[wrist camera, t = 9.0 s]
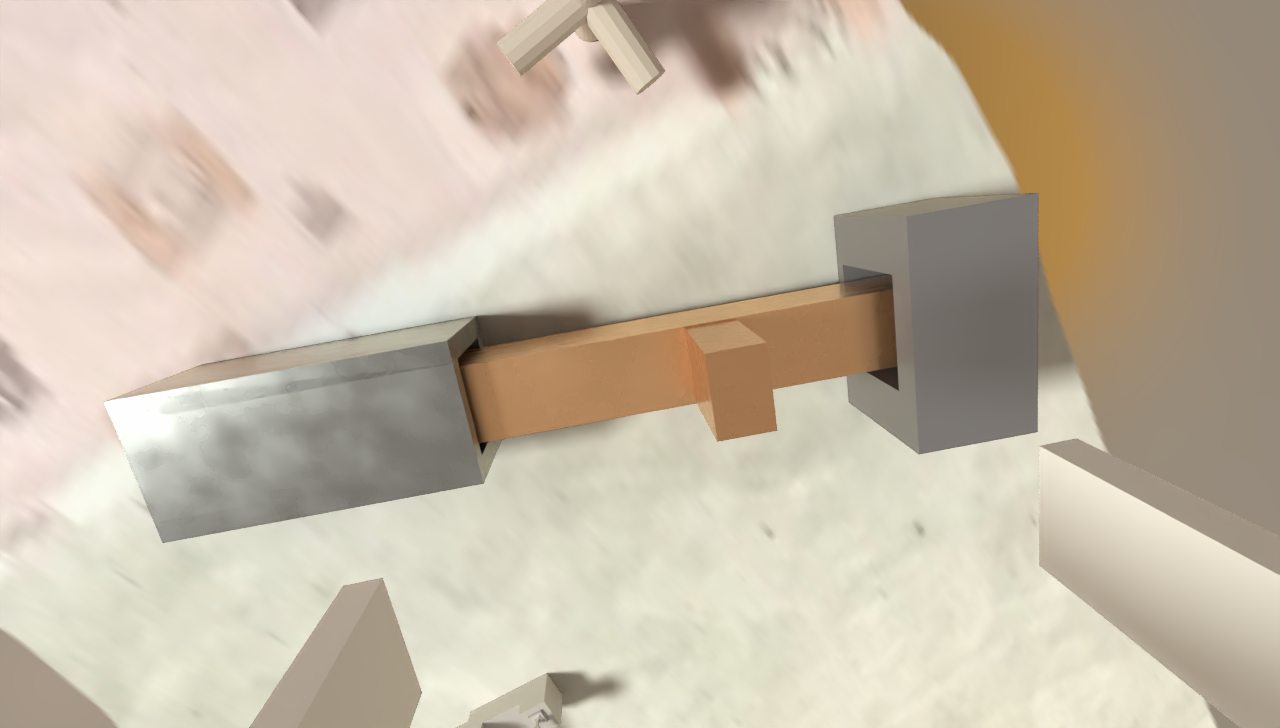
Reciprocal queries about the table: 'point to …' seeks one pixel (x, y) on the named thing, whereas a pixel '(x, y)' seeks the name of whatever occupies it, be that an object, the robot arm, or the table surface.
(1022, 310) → the socket block
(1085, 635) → the table surface
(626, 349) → the orange-brown sliding bolt
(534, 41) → the cream cross joint
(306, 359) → the sleeve
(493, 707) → the gateway
